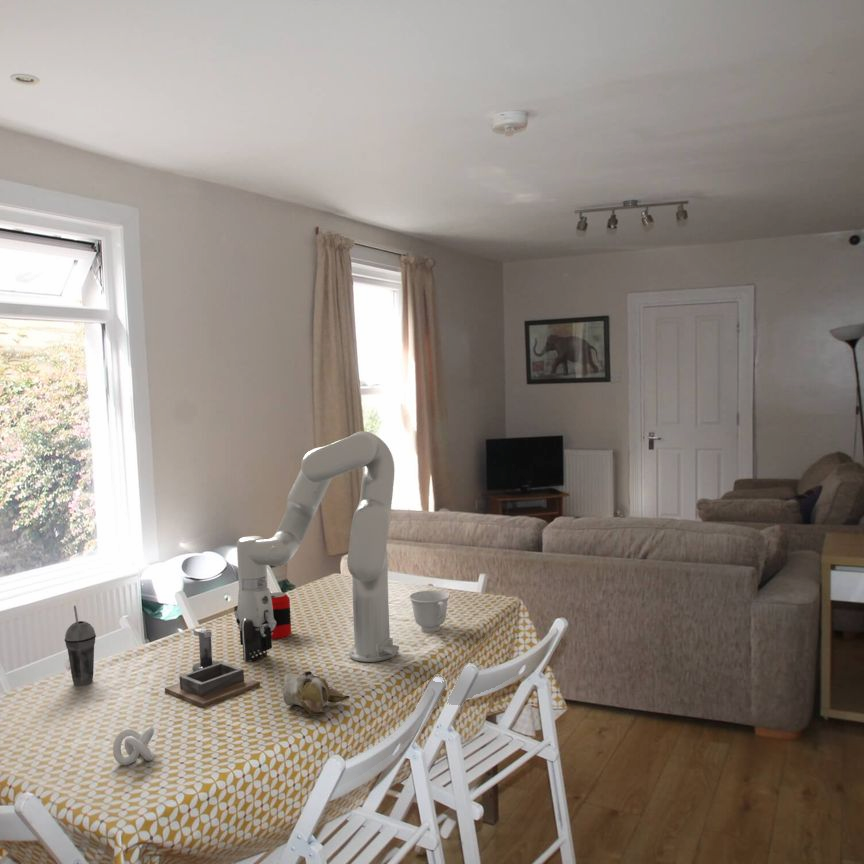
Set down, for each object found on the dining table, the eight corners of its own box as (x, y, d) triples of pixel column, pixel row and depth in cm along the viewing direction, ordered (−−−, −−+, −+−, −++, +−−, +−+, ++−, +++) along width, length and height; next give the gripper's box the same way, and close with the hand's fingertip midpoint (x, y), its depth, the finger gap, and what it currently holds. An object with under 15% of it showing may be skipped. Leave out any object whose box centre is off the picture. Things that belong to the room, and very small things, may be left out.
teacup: (426, 641, 223) (424, 606, 222) (403, 627, 236) (402, 594, 235) (463, 633, 228) (462, 599, 228) (439, 620, 242) (438, 588, 241)
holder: (259, 685, 193) (259, 669, 193) (203, 707, 181) (202, 690, 181) (221, 672, 204) (220, 656, 204) (165, 691, 192) (164, 675, 191)
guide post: (226, 668, 207) (224, 630, 206) (202, 676, 201) (200, 637, 201) (210, 662, 211) (208, 625, 211) (187, 670, 206) (185, 632, 205)
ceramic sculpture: (300, 657, 187) (351, 671, 179) (300, 692, 188) (351, 708, 180) (269, 672, 178) (321, 688, 170) (269, 710, 179) (321, 726, 171)
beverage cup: (105, 678, 202) (100, 601, 201) (84, 689, 195) (79, 609, 194) (82, 676, 204) (77, 599, 203) (60, 686, 198) (55, 607, 196)
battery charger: (252, 663, 210) (249, 620, 209) (242, 660, 212) (240, 618, 211) (271, 655, 215) (269, 613, 215) (261, 653, 218) (259, 612, 217)
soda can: (259, 637, 231) (257, 597, 230) (274, 630, 238) (272, 590, 237) (282, 640, 228) (280, 599, 227) (296, 632, 235) (294, 592, 234)
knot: (134, 748, 162) (132, 720, 162) (167, 751, 160) (166, 723, 160) (109, 765, 155) (107, 736, 155) (143, 769, 153) (142, 740, 152)
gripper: (285, 584, 209) (287, 649, 211) (245, 575, 221) (247, 637, 222) (262, 590, 204) (265, 657, 205) (222, 581, 215) (225, 644, 216)
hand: (256, 646), depth 213 cm, fingers open, 8 cm apart
